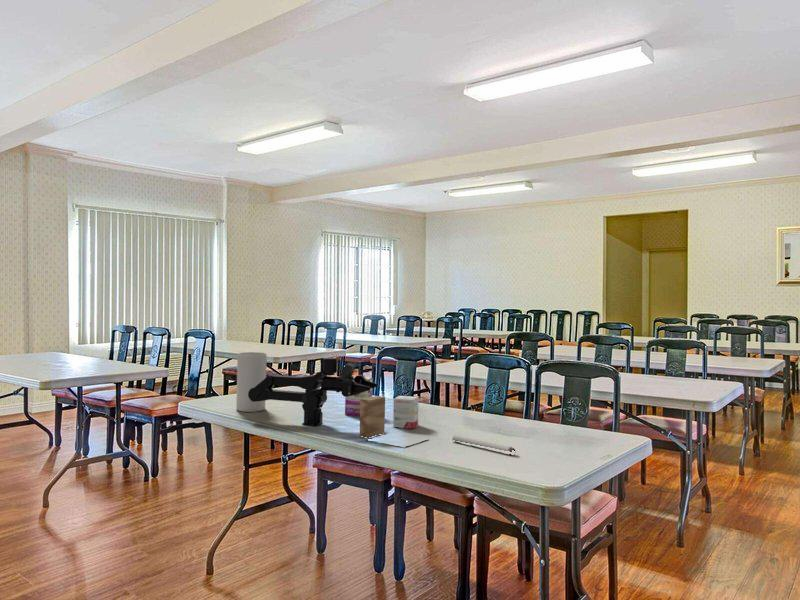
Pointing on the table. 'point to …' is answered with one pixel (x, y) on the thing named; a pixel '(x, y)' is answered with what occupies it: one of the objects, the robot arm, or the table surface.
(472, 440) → the tube
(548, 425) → the table surface
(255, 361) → the cylinder vase
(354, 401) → the candy bar box
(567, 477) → the table surface
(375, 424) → the brown cardboard box
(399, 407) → the ink box
